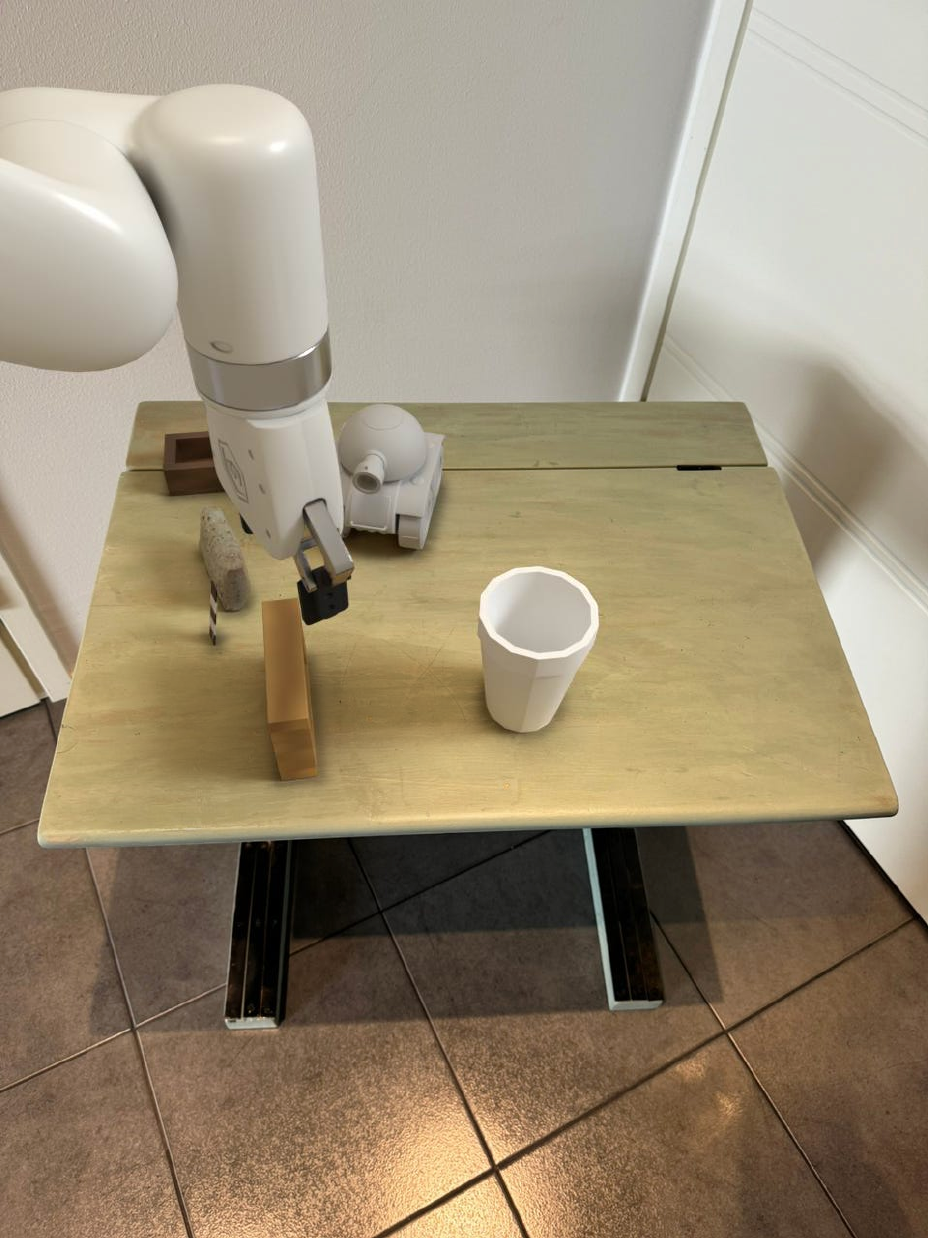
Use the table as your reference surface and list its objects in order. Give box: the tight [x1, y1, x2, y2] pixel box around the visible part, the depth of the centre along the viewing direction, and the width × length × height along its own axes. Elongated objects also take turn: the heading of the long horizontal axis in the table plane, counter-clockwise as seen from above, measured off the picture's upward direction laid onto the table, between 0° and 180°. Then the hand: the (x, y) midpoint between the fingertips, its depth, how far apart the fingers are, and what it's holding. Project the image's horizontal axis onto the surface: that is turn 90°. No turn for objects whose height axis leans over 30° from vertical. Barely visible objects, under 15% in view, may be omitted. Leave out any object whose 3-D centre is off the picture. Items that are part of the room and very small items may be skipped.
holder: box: [162, 430, 226, 497], centre depth 91 cm, size 15×6×4 cm, turn 101°
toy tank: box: [335, 403, 446, 550], centre depth 84 cm, size 15×11×13 cm
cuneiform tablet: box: [198, 506, 251, 646], centre depth 79 cm, size 7×4×12 cm
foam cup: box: [476, 565, 600, 734], centre depth 70 cm, size 10×9×13 cm
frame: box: [261, 597, 319, 782], centre depth 69 cm, size 3×12×9 cm, turn 11°
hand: (294, 568), depth 58 cm, fingers open, 9 cm apart
